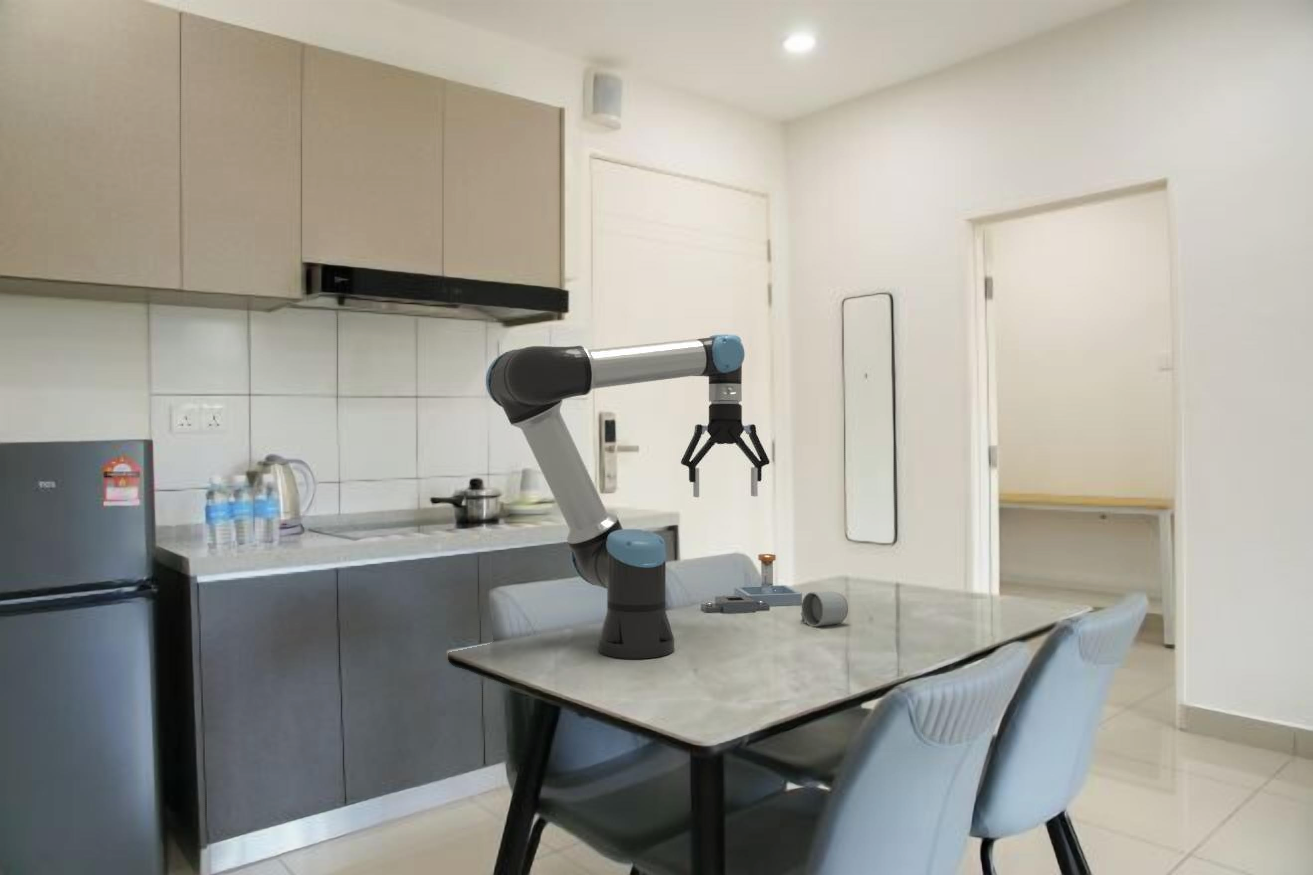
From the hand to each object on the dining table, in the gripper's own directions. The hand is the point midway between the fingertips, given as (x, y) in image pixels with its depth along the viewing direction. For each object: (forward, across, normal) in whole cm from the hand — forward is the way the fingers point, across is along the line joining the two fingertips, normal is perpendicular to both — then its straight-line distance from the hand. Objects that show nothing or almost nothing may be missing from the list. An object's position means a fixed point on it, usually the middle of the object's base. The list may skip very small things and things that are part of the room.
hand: (725, 496), depth 206 cm
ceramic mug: (+29, +21, -5) cm, 36 cm away
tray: (+29, +17, +23) cm, 41 cm away
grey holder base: (+29, +6, +14) cm, 32 cm away
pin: (+28, +17, +23) cm, 40 cm away
